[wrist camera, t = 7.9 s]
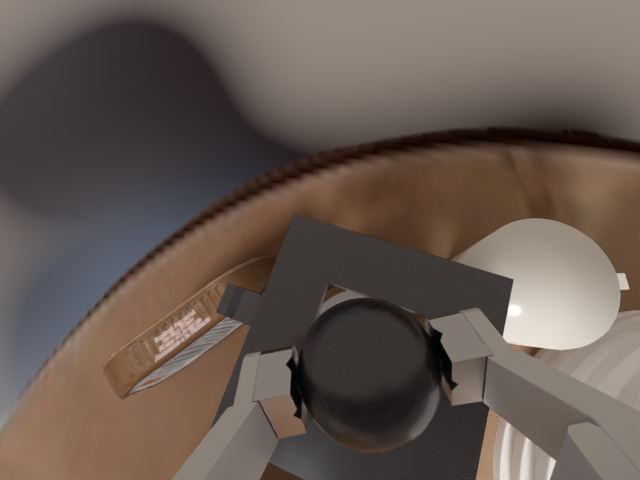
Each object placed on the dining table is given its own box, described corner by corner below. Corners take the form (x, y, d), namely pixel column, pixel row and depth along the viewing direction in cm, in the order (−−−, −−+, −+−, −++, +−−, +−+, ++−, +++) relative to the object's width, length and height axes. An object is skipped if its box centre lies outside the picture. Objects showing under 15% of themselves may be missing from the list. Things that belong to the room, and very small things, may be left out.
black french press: (426, 302, 26) (513, 279, 12) (396, 416, 23) (460, 556, 9) (298, 260, 28) (243, 198, 14) (261, 360, 26) (152, 405, 12)
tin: (282, 263, 28) (253, 239, 20) (300, 289, 27) (278, 275, 19) (152, 359, 27) (66, 376, 19) (166, 390, 26) (83, 420, 18)
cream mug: (440, 340, 25) (487, 349, 16) (430, 253, 27) (467, 221, 18) (558, 339, 24) (675, 349, 15) (538, 249, 26) (630, 213, 17)
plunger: (422, 309, 19) (560, 285, 6) (395, 415, 18) (504, 658, 5) (327, 277, 21) (286, 204, 8) (294, 374, 19) (174, 480, 6)
